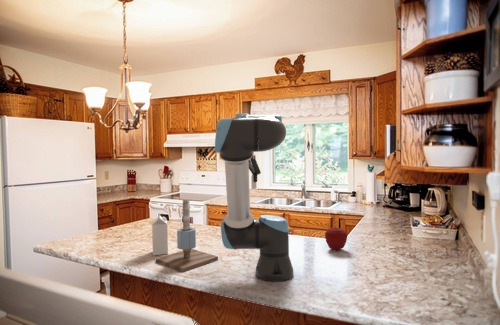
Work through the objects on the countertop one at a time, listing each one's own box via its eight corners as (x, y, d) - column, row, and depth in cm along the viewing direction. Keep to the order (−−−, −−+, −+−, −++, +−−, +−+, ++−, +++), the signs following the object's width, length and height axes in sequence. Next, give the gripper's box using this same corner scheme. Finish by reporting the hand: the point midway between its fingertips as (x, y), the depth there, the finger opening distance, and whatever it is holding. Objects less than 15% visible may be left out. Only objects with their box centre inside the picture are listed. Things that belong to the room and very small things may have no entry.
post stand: (218, 259, 148) (217, 199, 147) (182, 271, 133) (181, 204, 132) (190, 251, 161) (189, 195, 161) (155, 261, 146) (154, 200, 146)
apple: (348, 253, 155) (348, 229, 154) (325, 252, 157) (325, 228, 157) (346, 247, 165) (346, 224, 165) (324, 246, 168) (324, 224, 167)
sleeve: (199, 246, 147) (199, 229, 147) (185, 250, 141) (184, 232, 141) (188, 243, 153) (188, 226, 153) (174, 247, 147) (174, 229, 147)
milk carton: (152, 255, 155) (152, 216, 155) (153, 251, 162) (152, 214, 162) (167, 254, 157) (167, 215, 157) (167, 250, 164) (166, 213, 164)
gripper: (267, 144, 154) (268, 188, 154) (230, 146, 170) (231, 186, 171) (257, 144, 148) (258, 190, 148) (220, 145, 164) (220, 187, 165)
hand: (243, 188), depth 159 cm, fingers open, 13 cm apart
